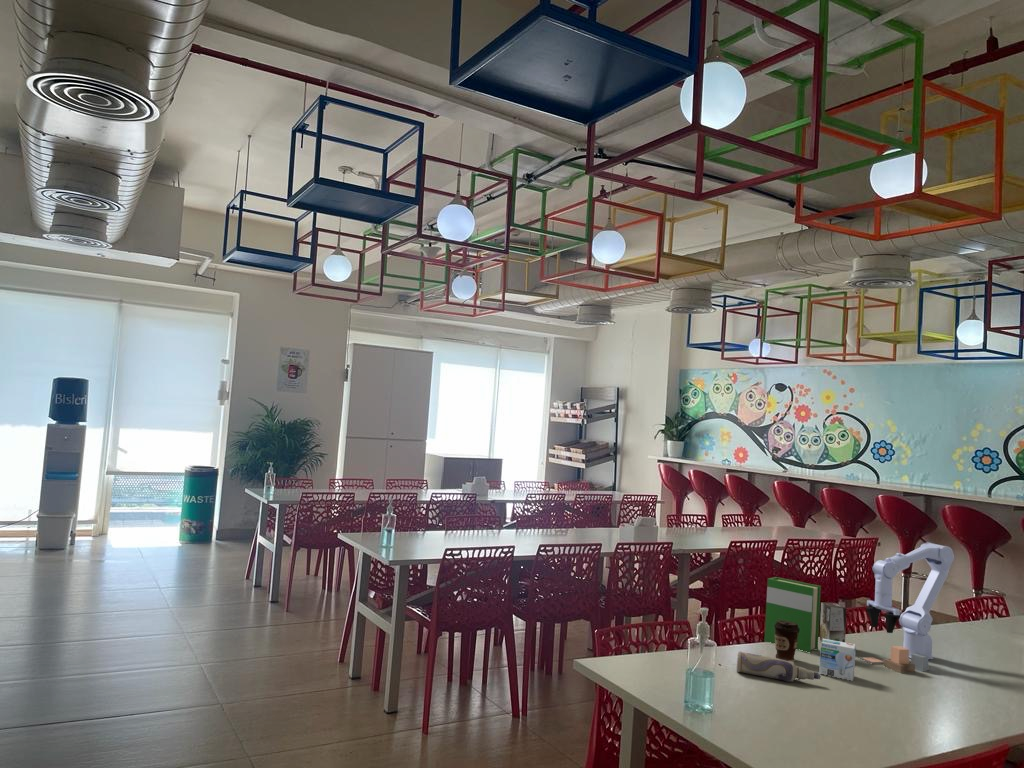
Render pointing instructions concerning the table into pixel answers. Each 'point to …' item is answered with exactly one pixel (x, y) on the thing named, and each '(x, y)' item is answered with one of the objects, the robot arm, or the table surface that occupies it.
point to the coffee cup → (786, 639)
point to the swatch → (872, 660)
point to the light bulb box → (837, 659)
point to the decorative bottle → (772, 668)
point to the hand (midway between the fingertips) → (882, 629)
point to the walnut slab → (899, 666)
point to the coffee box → (832, 622)
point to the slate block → (920, 661)
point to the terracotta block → (899, 654)
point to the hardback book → (793, 610)
